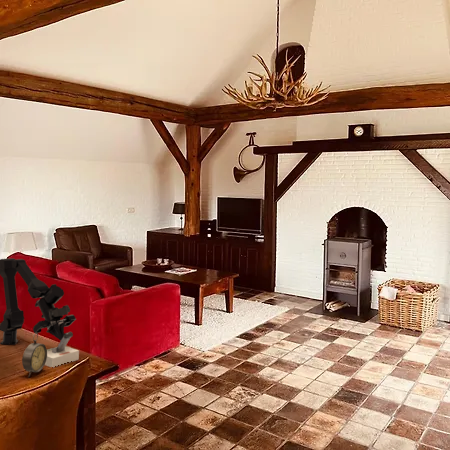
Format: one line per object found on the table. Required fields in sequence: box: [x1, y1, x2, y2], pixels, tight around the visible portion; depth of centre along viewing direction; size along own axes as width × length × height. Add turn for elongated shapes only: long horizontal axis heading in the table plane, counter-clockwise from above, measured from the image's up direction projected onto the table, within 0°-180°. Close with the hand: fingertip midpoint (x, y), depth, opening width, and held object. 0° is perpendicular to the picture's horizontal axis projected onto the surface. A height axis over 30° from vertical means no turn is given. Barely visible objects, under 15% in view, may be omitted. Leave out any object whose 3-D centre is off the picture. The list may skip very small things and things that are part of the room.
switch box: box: [44, 345, 80, 368], centre depth 203 cm, size 10×14×6 cm
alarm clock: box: [21, 333, 48, 378], centre depth 187 cm, size 11×5×16 cm, turn 168°
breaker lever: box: [56, 331, 74, 352], centre depth 201 cm, size 2×3×10 cm
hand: (63, 340), depth 201 cm, fingers closed, pressing on breaker lever
